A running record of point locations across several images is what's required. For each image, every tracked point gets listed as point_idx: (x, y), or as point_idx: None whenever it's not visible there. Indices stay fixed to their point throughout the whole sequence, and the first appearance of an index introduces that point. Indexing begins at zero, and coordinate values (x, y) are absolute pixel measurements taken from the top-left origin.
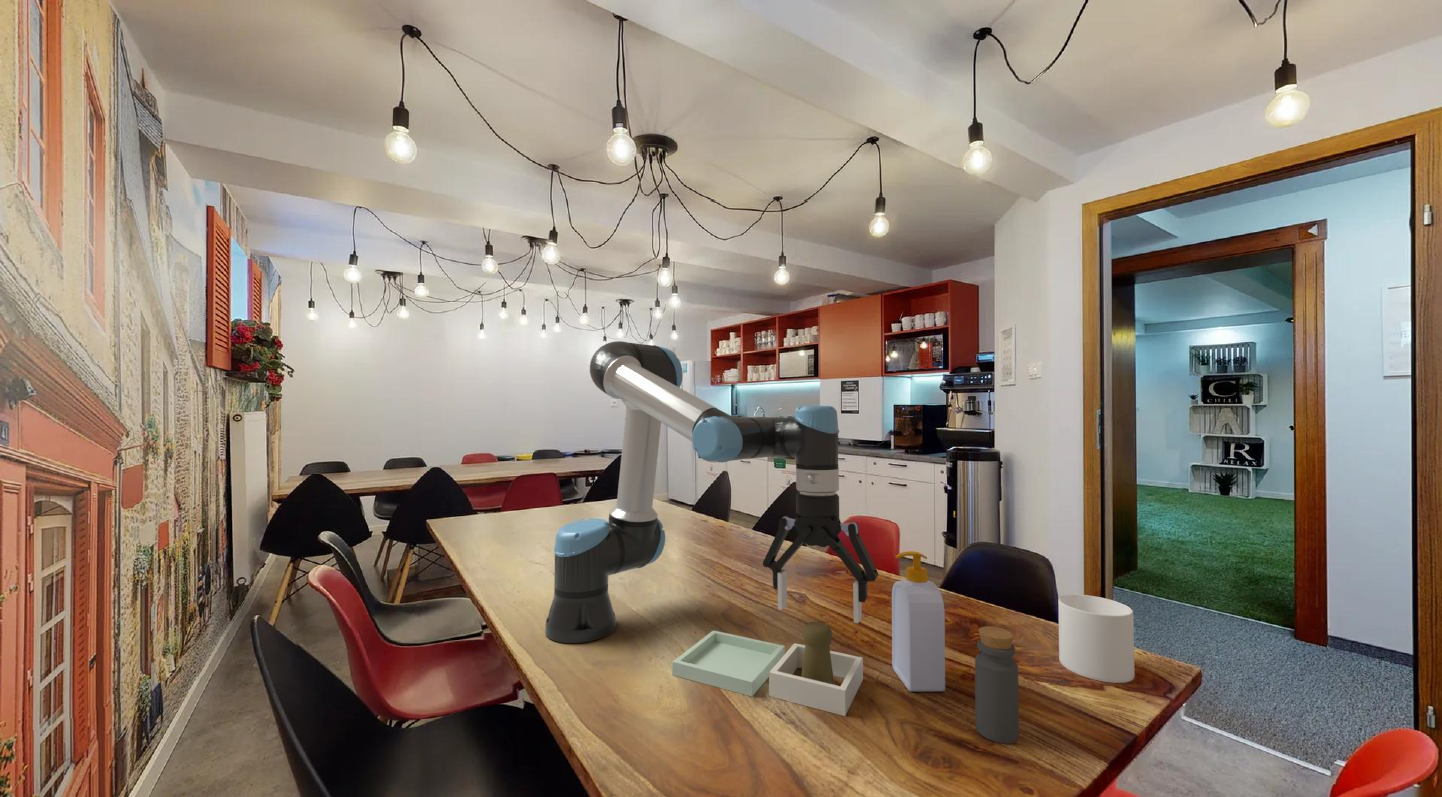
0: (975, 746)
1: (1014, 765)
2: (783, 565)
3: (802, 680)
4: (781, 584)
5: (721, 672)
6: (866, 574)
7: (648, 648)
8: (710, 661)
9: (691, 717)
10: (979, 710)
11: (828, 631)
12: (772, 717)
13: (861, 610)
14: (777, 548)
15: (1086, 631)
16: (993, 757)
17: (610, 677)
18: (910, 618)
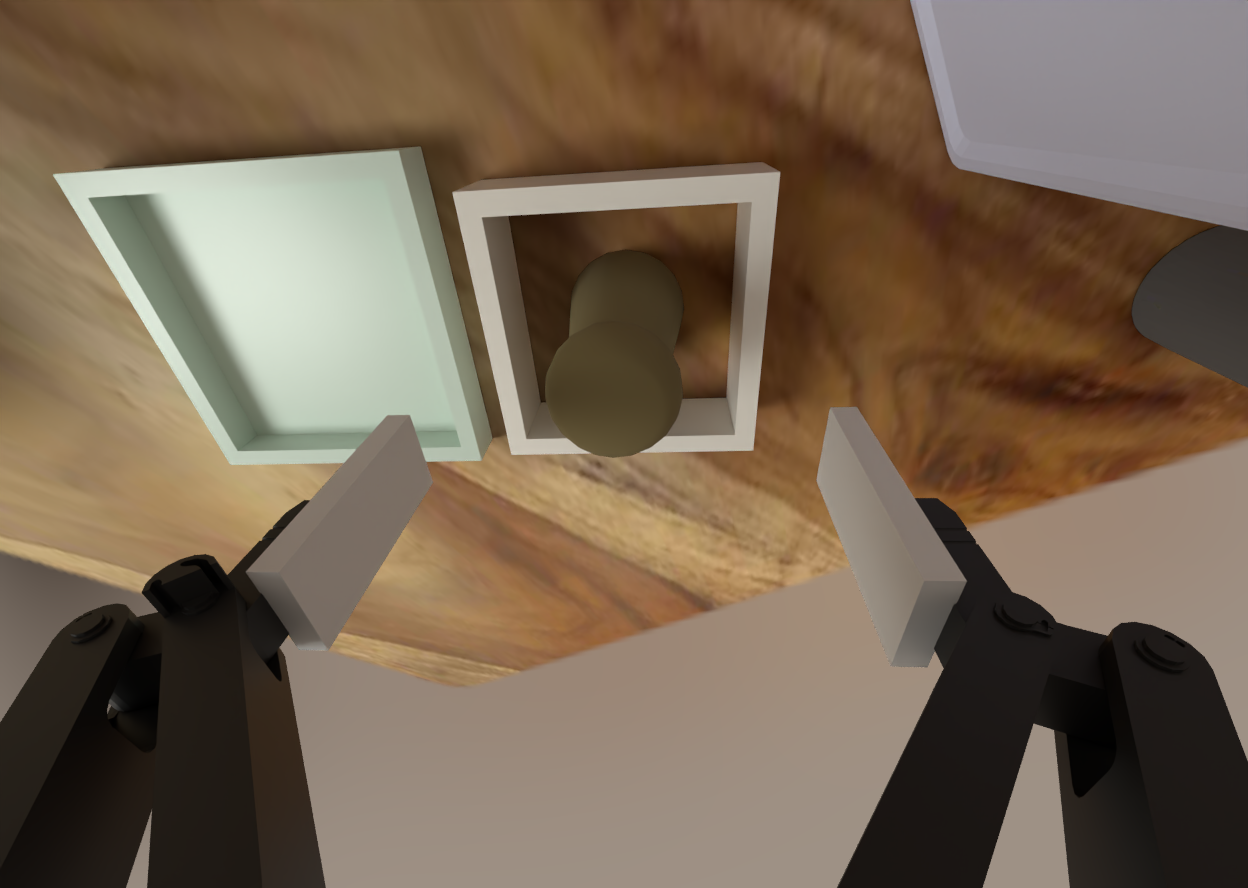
0: (1088, 385)
1: (1164, 416)
2: (247, 627)
3: None
4: (367, 585)
5: None
6: (1054, 729)
7: (40, 347)
8: (265, 348)
9: (442, 551)
10: (1190, 351)
11: (672, 418)
12: (583, 488)
13: (870, 432)
14: (115, 857)
15: None
16: (1120, 408)
17: (174, 512)
18: (1215, 222)
